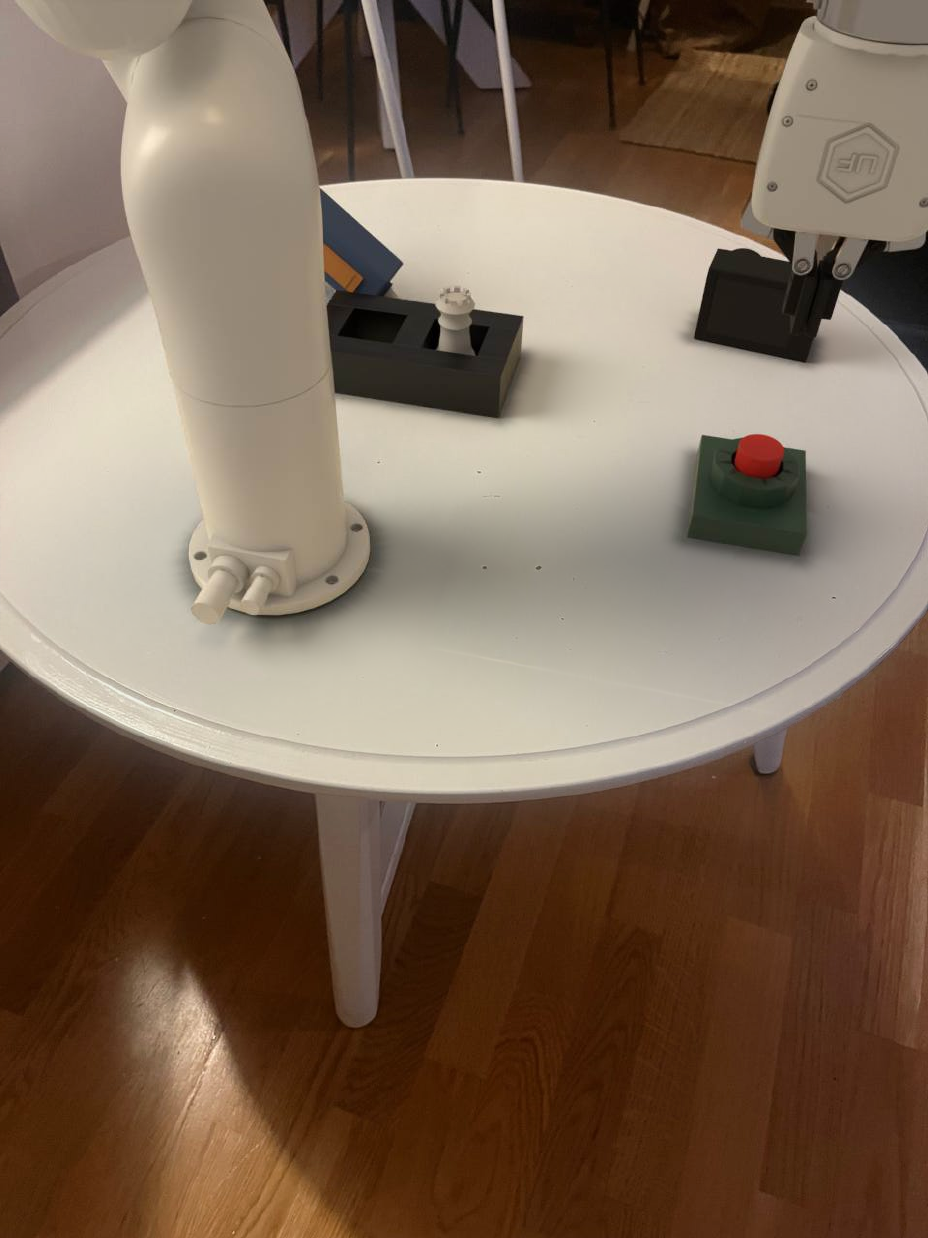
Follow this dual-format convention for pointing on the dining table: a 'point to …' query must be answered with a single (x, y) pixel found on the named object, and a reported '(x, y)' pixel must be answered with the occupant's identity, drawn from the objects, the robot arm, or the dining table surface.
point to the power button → (759, 456)
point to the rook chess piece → (455, 320)
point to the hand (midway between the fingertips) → (802, 324)
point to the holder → (420, 354)
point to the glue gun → (354, 254)
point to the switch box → (748, 500)
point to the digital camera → (749, 305)
